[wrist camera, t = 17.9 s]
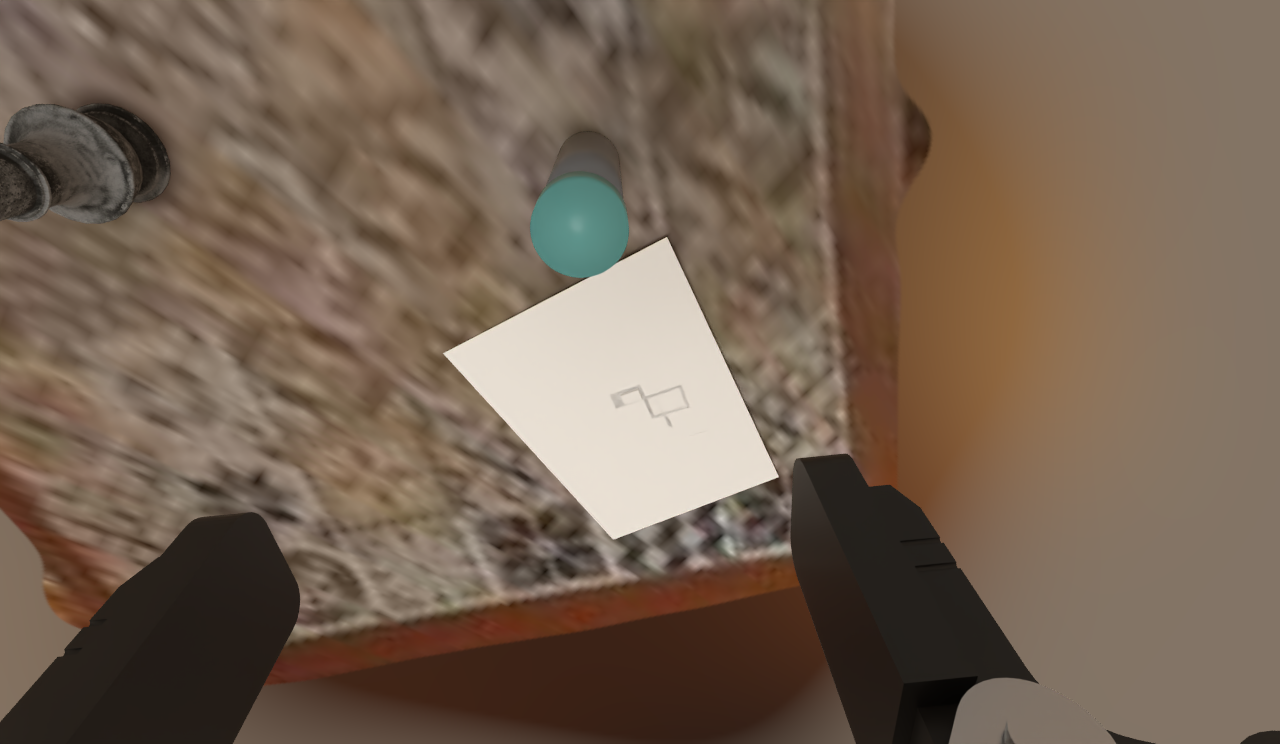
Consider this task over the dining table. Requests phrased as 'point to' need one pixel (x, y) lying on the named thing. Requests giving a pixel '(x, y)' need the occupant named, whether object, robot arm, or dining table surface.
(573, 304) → the paper sheet
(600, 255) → the marker
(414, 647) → the dining table surface
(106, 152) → the weathered grey finial
